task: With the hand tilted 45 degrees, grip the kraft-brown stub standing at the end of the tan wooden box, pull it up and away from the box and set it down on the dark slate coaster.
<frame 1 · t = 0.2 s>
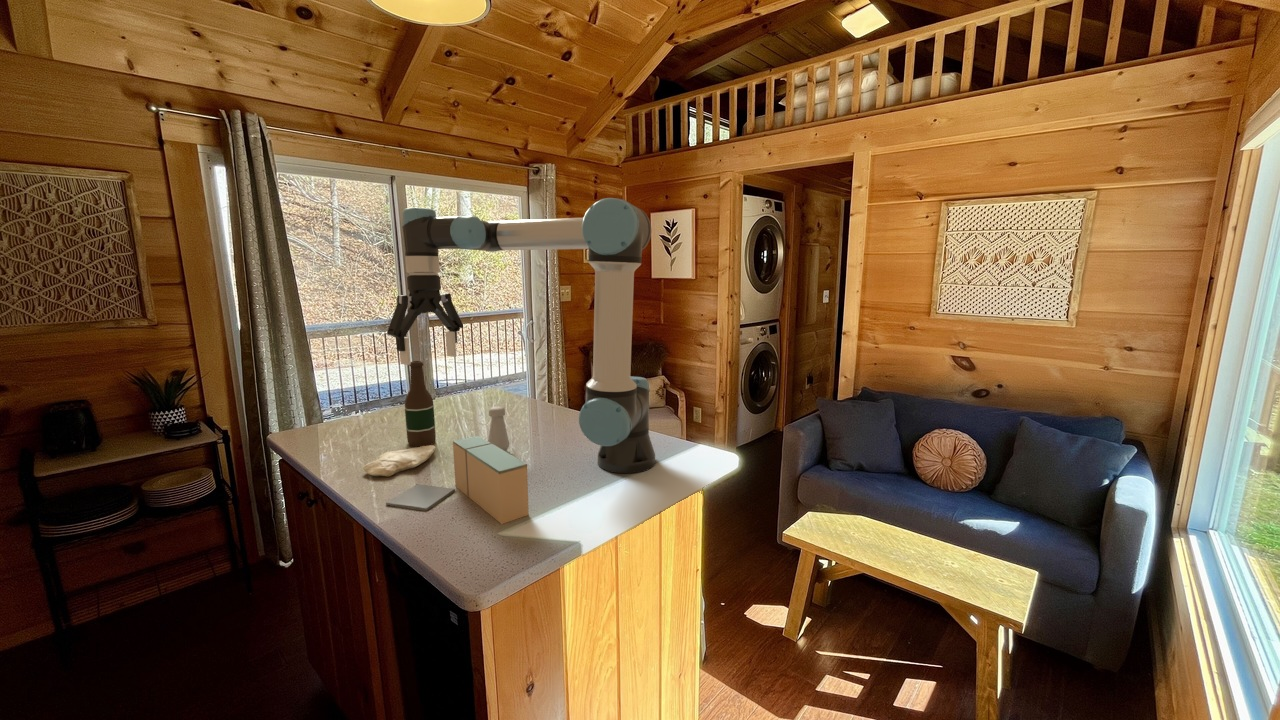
hand: (429, 360, 128), 27 cm above the table, tool pointing down, fingers open, 13 cm apart
salt shaker: (498, 453, 141), on the table
cream lumpy flat piece: (405, 466, 132), on the table
stub: (474, 487, 119), on the table
coaster: (421, 498, 113), on the table
beer bottle: (421, 443, 149), on the table
tan wooden box: (497, 505, 109), on the table
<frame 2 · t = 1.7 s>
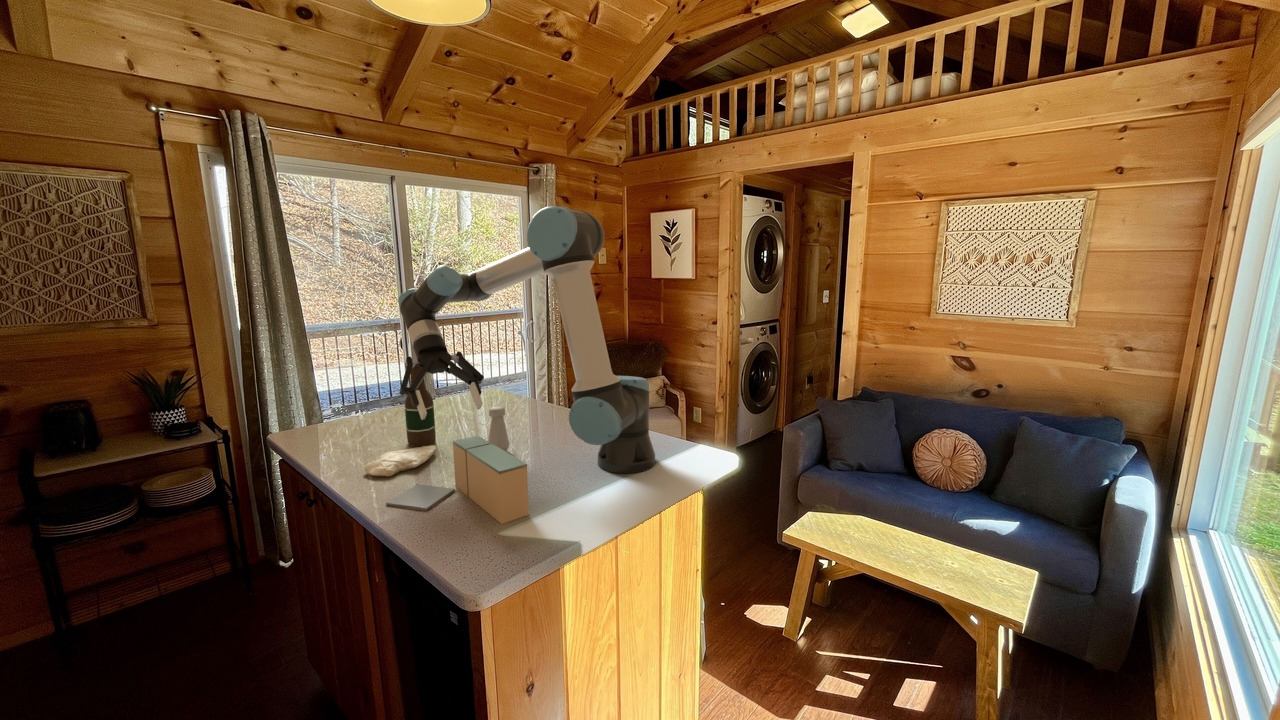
hand: (453, 411, 124), 16 cm above the table, tool tilted 45°, fingers open, 13 cm apart
nothing on the table moved.
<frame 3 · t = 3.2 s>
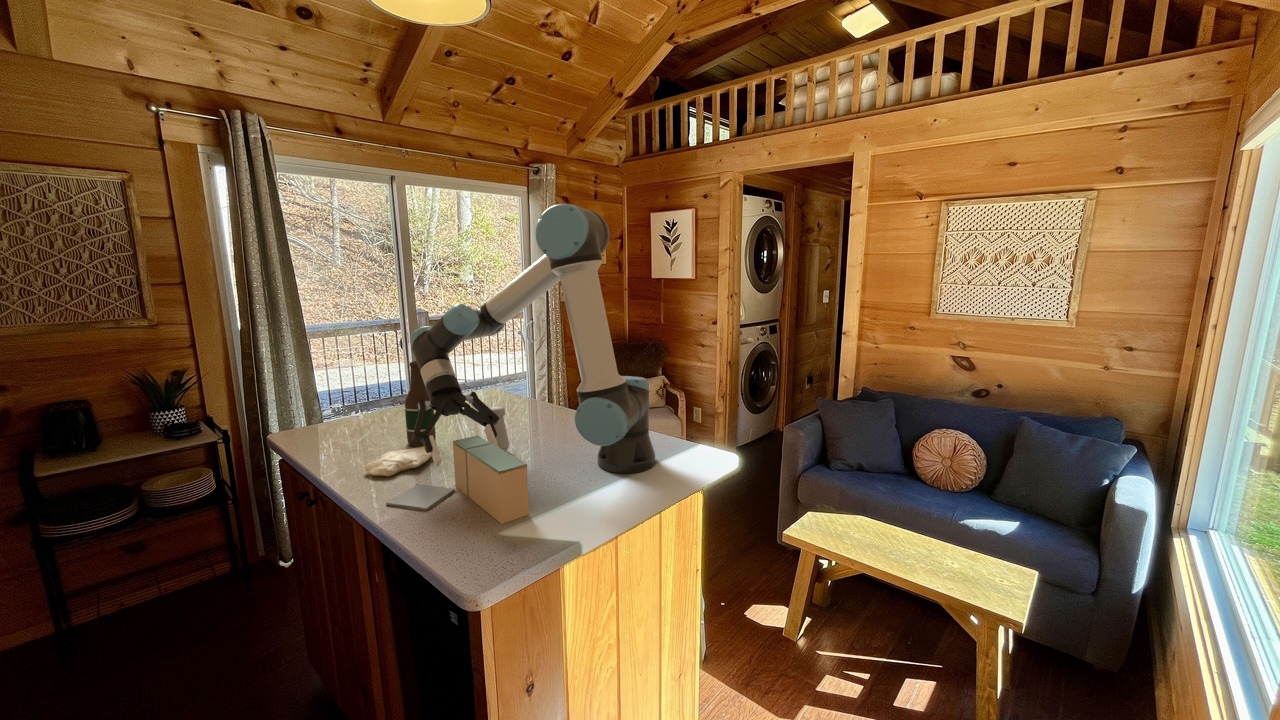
hand: (468, 456, 118), 7 cm above the table, tool tilted 45°, fingers open, 13 cm apart
nothing on the table moved.
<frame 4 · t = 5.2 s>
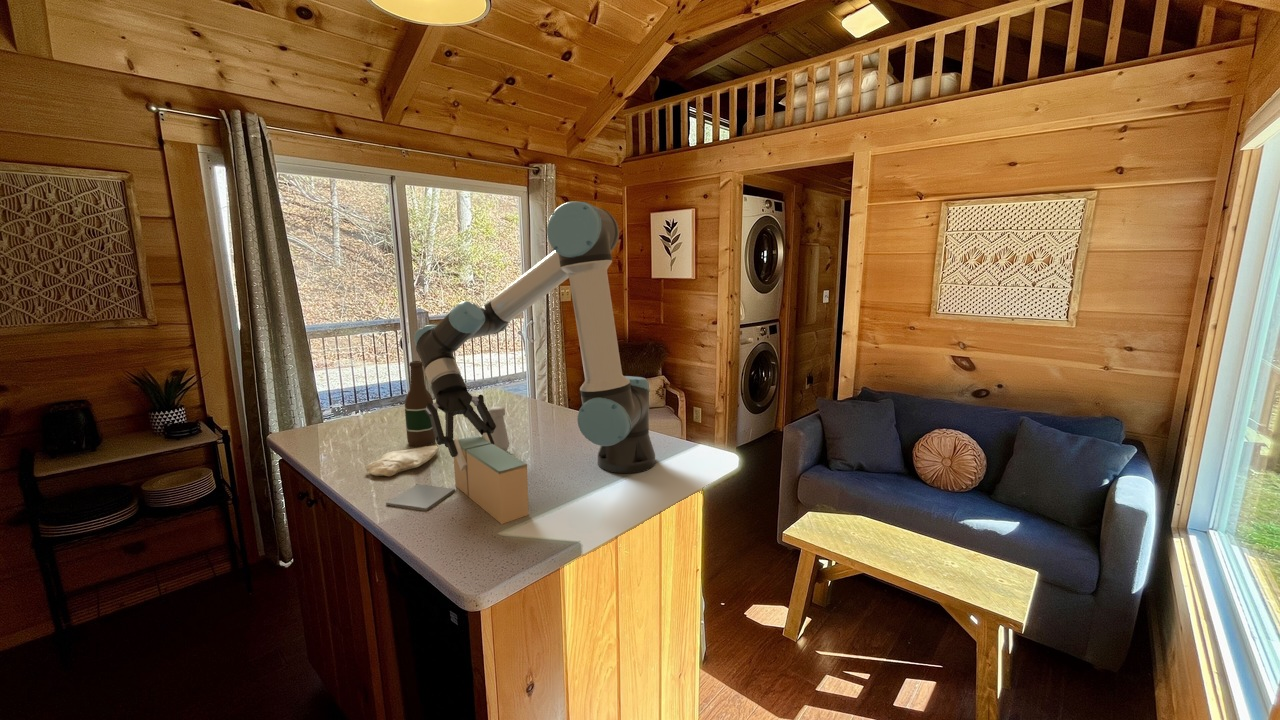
hand: (478, 463, 115), 7 cm above the table, tool tilted 45°, fingers open, 6 cm apart
stub: (474, 487, 119), on the table, touching gripper
everything else where it was.
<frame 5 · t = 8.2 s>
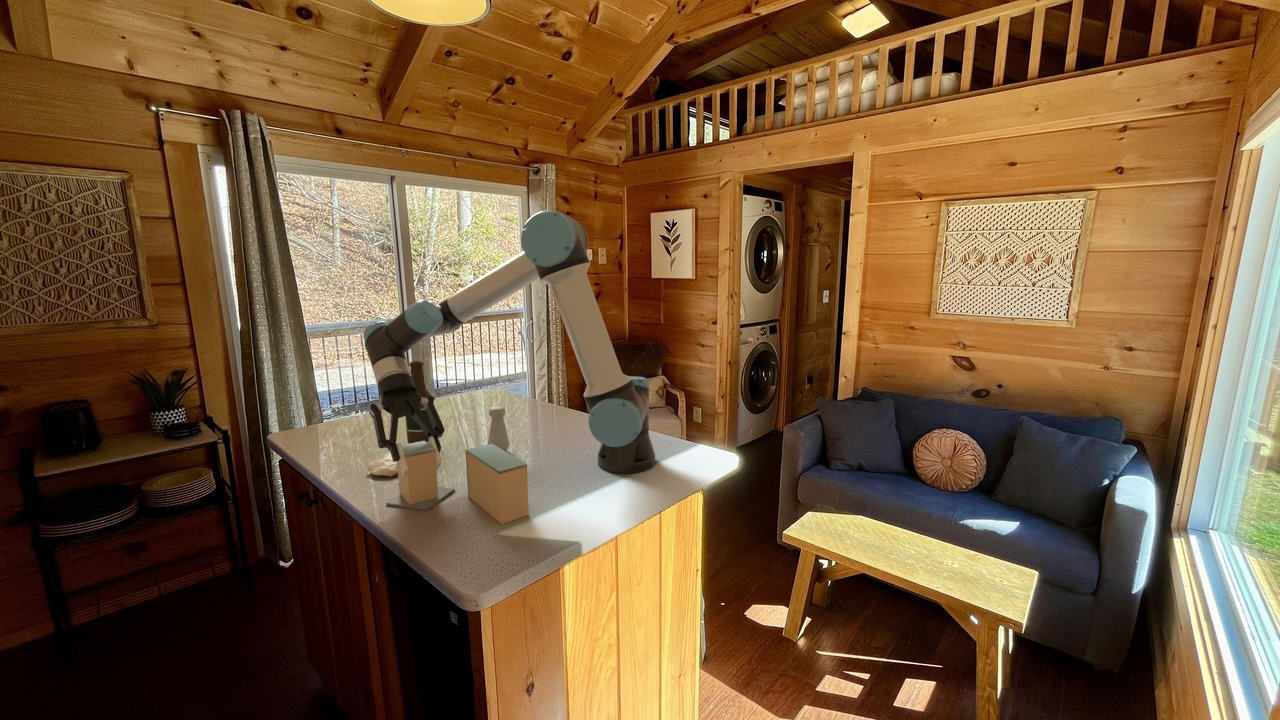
hand: (422, 469, 109), 8 cm above the table, tool tilted 45°, fingers closed on stub, 6 cm apart
stub: (418, 495, 113), point 1 cm above the table, touching coaster, gripper
when the fingers open (6 cm above the table, at t = 9.0 s): stub stays where it is, resting on coaster.
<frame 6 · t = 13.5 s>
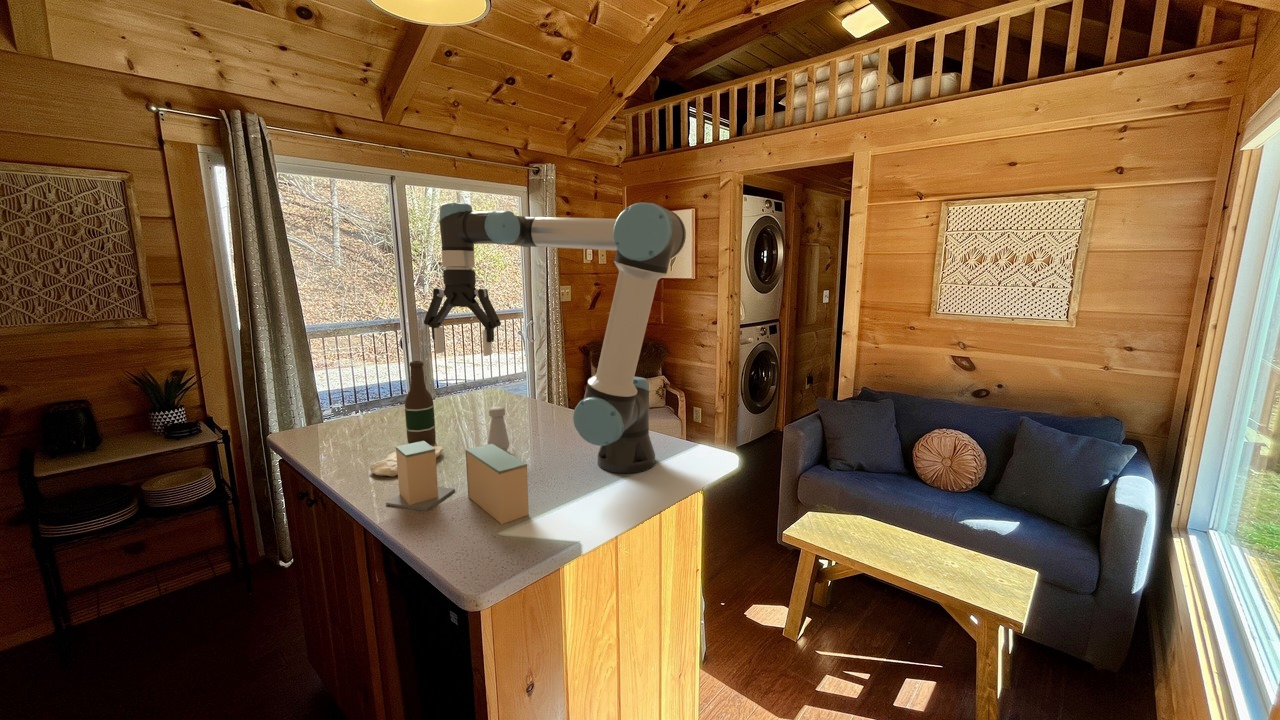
hand: (463, 354, 130), 29 cm above the table, tool pointing down, fingers open, 13 cm apart
stub: (418, 495, 113), point 1 cm above the table, touching coaster
at the end: stub inside the target area on the coaster (0.6 cm from its centre), point 0.6 cm above the coaster's base; stub touching coaster; the gripper is holding nothing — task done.
